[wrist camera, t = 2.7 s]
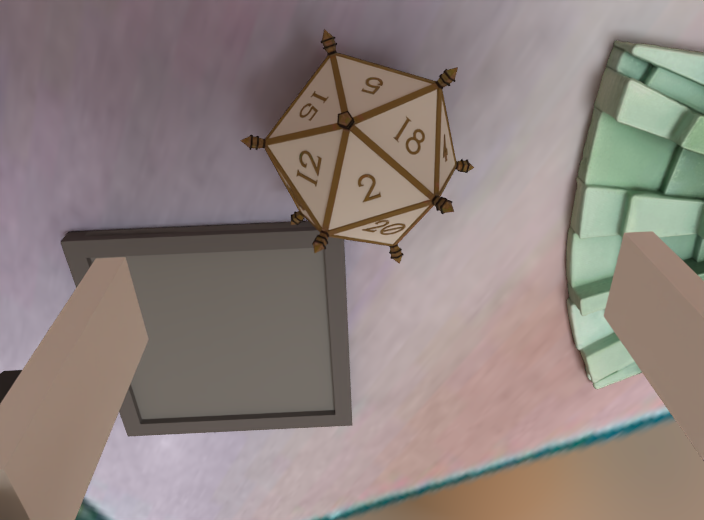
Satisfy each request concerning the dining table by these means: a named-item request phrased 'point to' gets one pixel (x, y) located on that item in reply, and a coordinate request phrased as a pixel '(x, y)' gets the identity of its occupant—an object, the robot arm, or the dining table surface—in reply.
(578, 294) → the green curved brick section
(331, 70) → the game die
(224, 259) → the mat
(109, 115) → the dining table surface
